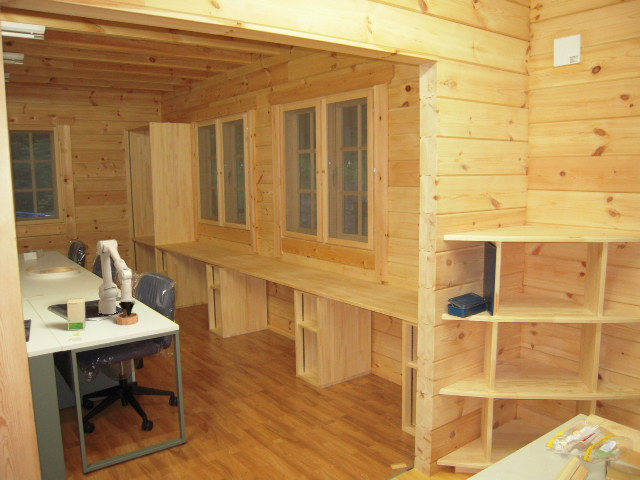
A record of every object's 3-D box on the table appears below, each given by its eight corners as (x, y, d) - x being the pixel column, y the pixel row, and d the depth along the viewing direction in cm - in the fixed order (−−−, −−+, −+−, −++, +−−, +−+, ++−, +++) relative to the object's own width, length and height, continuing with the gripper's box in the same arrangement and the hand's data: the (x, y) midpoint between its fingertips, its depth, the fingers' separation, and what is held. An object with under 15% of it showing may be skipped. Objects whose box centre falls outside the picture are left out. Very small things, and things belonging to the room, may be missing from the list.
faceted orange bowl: (112, 323, 301) (112, 316, 300) (127, 318, 311) (127, 311, 310) (127, 326, 296) (127, 319, 295) (142, 321, 306) (141, 314, 305)
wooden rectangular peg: (123, 321, 302) (122, 309, 301) (128, 319, 305) (128, 307, 304) (126, 322, 301) (125, 309, 300) (131, 320, 304) (131, 308, 303)
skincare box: (67, 331, 287) (66, 302, 284) (69, 327, 293) (68, 299, 291) (84, 330, 289) (83, 301, 287) (86, 326, 295) (84, 298, 293)
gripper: (110, 291, 300) (112, 314, 302) (130, 294, 294) (131, 318, 296) (120, 288, 306) (121, 311, 308) (140, 291, 300) (141, 315, 302)
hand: (127, 314), depth 303 cm, fingers closed on wooden rectangular peg, 2 cm apart
